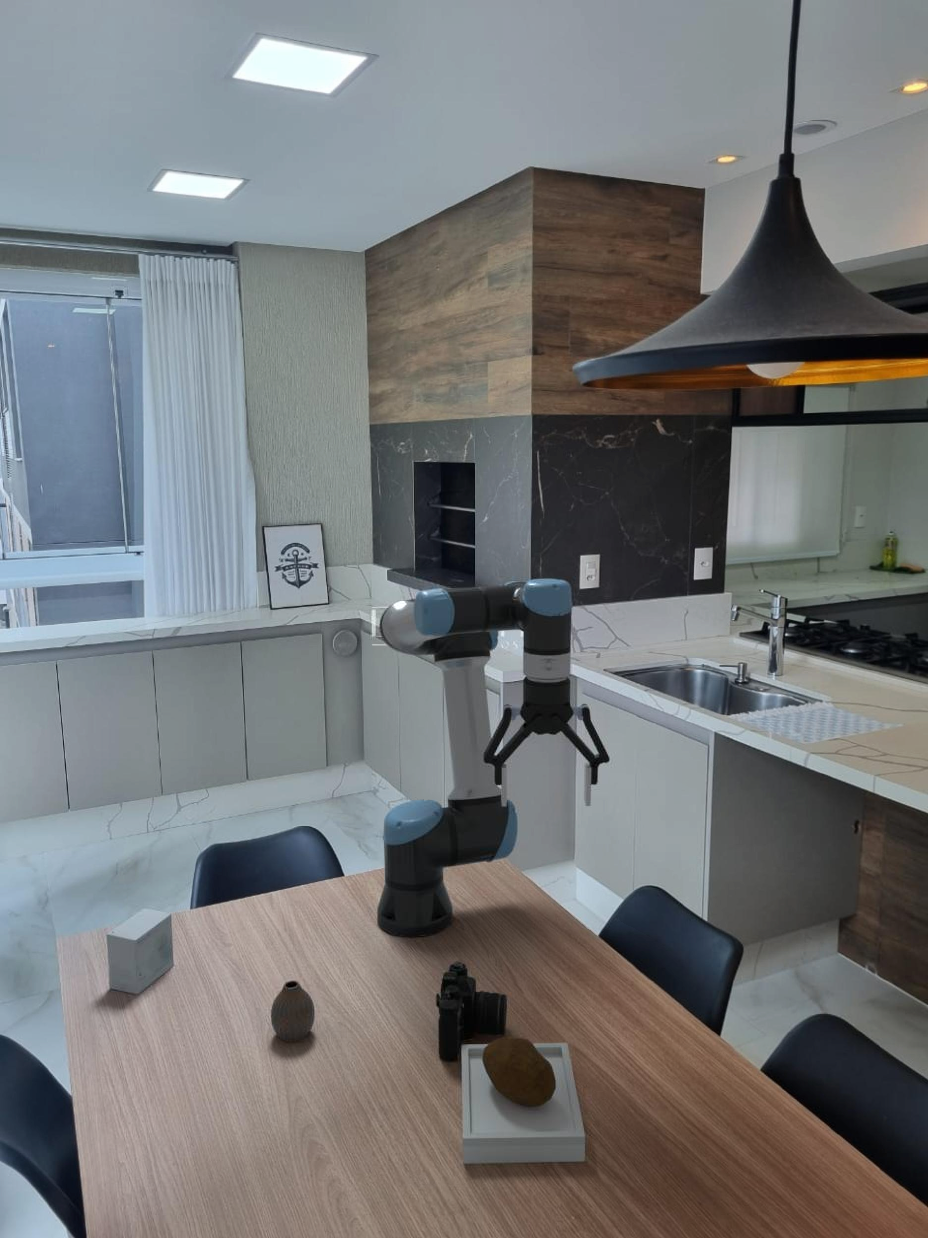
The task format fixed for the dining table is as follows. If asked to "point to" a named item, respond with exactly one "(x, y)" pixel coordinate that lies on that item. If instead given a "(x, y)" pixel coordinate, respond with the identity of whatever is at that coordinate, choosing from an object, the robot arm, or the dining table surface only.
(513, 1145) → the tray
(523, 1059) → the potato
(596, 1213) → the dining table surface
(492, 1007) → the camera
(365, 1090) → the dining table surface
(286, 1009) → the vase
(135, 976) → the skincare box
